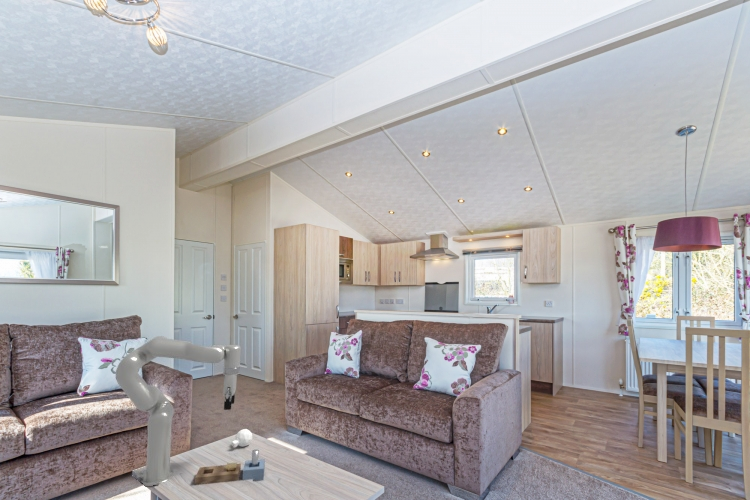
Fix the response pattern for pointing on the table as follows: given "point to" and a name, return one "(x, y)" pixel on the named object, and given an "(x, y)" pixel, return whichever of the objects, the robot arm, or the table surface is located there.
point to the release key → (231, 466)
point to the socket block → (216, 474)
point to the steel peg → (255, 458)
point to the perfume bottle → (242, 438)
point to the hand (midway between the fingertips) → (229, 406)
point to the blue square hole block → (254, 470)
